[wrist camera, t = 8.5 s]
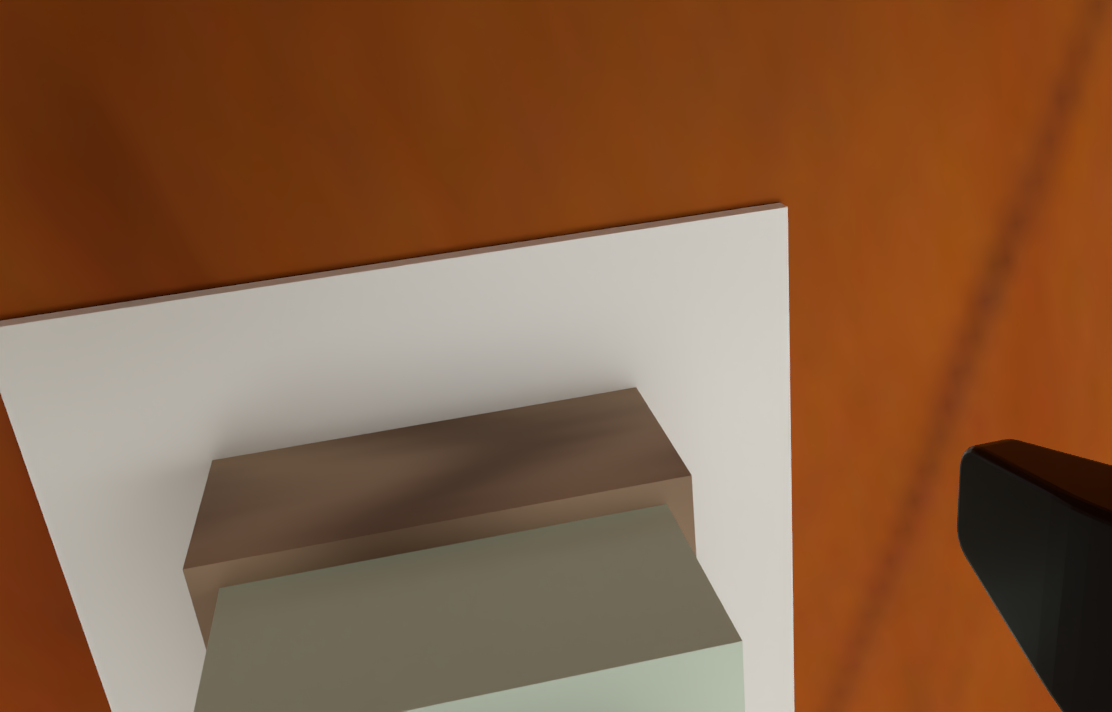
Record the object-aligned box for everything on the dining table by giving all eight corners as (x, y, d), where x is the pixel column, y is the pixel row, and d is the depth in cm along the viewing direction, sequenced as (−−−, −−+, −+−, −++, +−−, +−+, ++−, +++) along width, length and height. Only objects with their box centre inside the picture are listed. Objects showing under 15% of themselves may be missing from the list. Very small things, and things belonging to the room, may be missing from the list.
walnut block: (636, 387, 22) (691, 475, 19) (661, 710, 26) (712, 837, 22) (211, 460, 21) (182, 568, 17) (299, 787, 25) (290, 936, 21)
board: (780, 202, 22) (787, 207, 21) (789, 773, 28) (795, 784, 28) (-15, 322, 20) (-22, 330, 19) (188, 909, 26) (185, 923, 26)
